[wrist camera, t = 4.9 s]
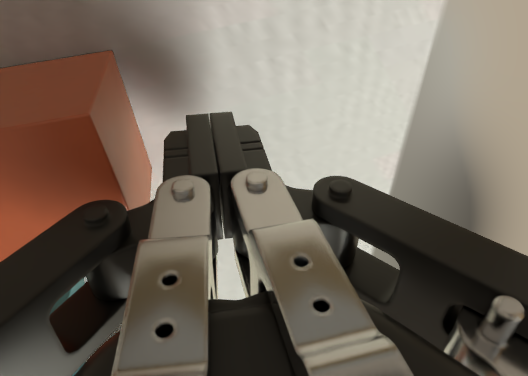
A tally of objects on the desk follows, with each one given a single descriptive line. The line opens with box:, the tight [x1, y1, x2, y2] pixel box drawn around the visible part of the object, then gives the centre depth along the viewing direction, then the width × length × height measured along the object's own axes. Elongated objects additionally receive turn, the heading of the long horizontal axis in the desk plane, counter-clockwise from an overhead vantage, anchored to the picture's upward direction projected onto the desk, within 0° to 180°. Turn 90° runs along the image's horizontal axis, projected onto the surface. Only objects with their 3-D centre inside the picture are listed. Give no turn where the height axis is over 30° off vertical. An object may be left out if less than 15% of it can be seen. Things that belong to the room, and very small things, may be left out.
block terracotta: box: [0, 51, 152, 262], centre depth 12 cm, size 4×4×4 cm
